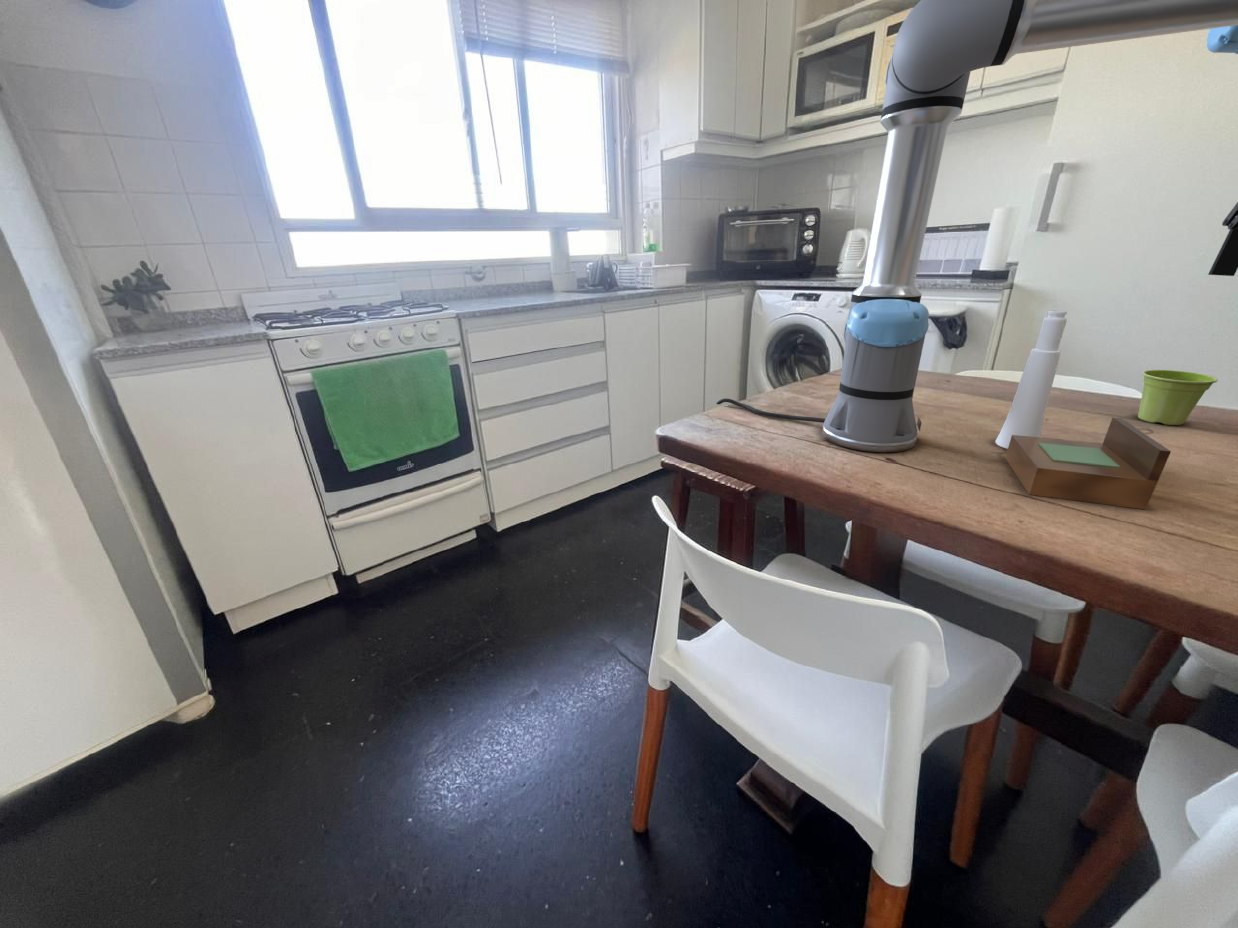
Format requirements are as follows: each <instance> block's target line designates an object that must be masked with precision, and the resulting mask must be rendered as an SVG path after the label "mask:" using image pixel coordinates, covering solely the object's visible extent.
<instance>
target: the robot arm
mask: <svg viewBox="0 0 1238 928" xmlns="http://www.w3.org/2000/svg"><path fill="white" fill-rule="evenodd" d="M1204 30H1209V31H1208V33H1207V36H1206V37H1207V38H1206V47H1207V50H1208V51H1209V52H1211V53H1214V54H1219V53H1220V54H1221V53H1222V54H1235V55H1238V0H920V1H919V2H918V3H917V4H916V5H914V6H913V8H912V9H911V10H910V11H909V13H908V14H907V16H906V17H905V18H904V20H903V21H902V23H901V26H900V27H899V30H898V32H897V34H896V36H895V40H894V45H893V49H892V54H891V57H890V59H889V62H888V65H887V69H886V74H885V91H884V97H883V104H882V110H881V114H880V115H881V116H880V124H881V126H882V127H883V128H884V129H885V131H887V138H886V145H885V150H884V156H883V162H882V168H881V173H880V180H879V185H878V191H877V197H876V202H875V208H874V215H873V220H872V221H873V222H872V226H871V232H870V237H869V243H868V249H867V254H866V261H865V266H864V272H863V278H862V282H861V284H860V285H859V286H858V287H857V288H855V289H854V290H853V291H852V292H851V298H850V304H849V308H848V309H849V310H848V315H847V316H848V317H847V321H846V324H845V326H844V330H843V331H844V332H843V341H844V353H843V359H842V366H841V373H840V380H839V387H838V393H837V396H836V397H835V399H834V402H833V403H832V406H831V407H830V409H829V411H828V413H827V415H826V417H824V418H823V417H813V416H804V415H803V416H801V415H791V414H784V413H777V412H776V413H775V412H769V411H765V410H760V409H757V408H755V407H752V406H751V405H748V404H745V403H743V402H742V403H741V402H739V401H738V400H734V399H731V398H721V399H719V400H717V402H716V404H715V405H721V404H723V403H728V404H732V405H734V406H736V407H739V408H743V409H745V410H747V411H750V412H752V413H755V414H757V415H760V416H764V417H765V416H766V417H770V418H776V419H784V420H793V421H801V422H802V421H804V422H805V421H806V422H814V423H823V424H822V430H821V431H822V432H821V434H822V437H823V438H824V439H826V440H827V441H829V442H830V443H832V444H835V445H837V446H839V447H844V448H847V449H852V450H856V451H861V452H862V451H863V452H870V453H895V452H896V453H897V452H903V451H906V450H910V449H912V448H913V447H915V445H916V442H917V438H918V431H919V432H920V431H921V427H922V420H921V419H920V417H919V416H918V417H917V421H916V416H915V410H914V403H913V397H914V392H915V388H916V382H917V379H918V372H919V369H920V364H921V363H920V362H921V358H922V353H923V348H924V343H925V340H926V339H925V338H926V334H927V333H928V331H929V327H930V324H929V317H930V313H929V312H930V311H929V309H928V308H927V307H926V305H925V304H922V303H921V299H922V295H923V293H922V292H921V290H920V288H918V287H917V285H916V283H915V282H916V278H917V275H918V269H919V264H920V259H921V254H922V249H923V245H924V240H925V235H926V231H927V226H928V221H929V216H930V211H931V209H932V208H931V207H932V202H933V197H934V193H935V188H936V184H937V179H938V173H939V169H940V165H941V161H942V155H943V149H944V146H945V141H946V136H947V131H948V128H949V126H950V125H951V124H952V123H954V121H956V119H957V118H958V117H960V115H961V114H962V112H963V107H964V103H965V98H966V95H967V94H966V93H967V90H968V85H969V80H970V76H971V73H972V72H973V71H976V70H981V69H984V68H988V67H996V66H997V67H998V66H1004V65H1005V64H1006V63H1007V62H1009V61H1010V59H1011V58H1013V57H1014V56H1016V55H1017V54H1018V55H1019V54H1027V53H1034V52H1042V51H1049V50H1057V49H1065V48H1072V47H1073V48H1074V47H1080V46H1088V45H1095V44H1104V43H1111V42H1118V41H1127V40H1134V39H1141V38H1143V39H1144V38H1149V37H1158V36H1165V35H1173V34H1179V33H1180V34H1181V33H1189V32H1196V31H1204ZM1221 225H1222V226H1223V227H1227V230H1229V231H1228V233H1227V235H1226V237H1225V239H1224V241H1223V243H1222V245H1221V247H1220V249H1219V251H1218V253H1217V255H1216V257H1215V260H1214V262H1213V264H1212V265H1211V268H1210V270H1209V271H1208V273H1207V275H1208V276H1223V277H1224V276H1227V277H1234V276H1235V275H1236V273H1237V270H1238V201H1237V202H1236V204H1235V205H1234V206H1233V207H1232V208H1231V210H1230V211H1229V212H1228V214H1227V216H1226V217H1225V218H1224V220H1223V221H1222V223H1221Z"/></svg>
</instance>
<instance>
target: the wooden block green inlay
mask: <svg viewBox="0 0 1238 928" xmlns="http://www.w3.org/2000/svg"><path fill="white" fill-rule="evenodd" d="M1006 450H1007V451H1006V454H1005V457H1004V459H1005V460H1006V462H1007V464H1008V465H1009V466H1010V468H1011V469H1012V471H1013V472H1014V474H1015V475H1016V477H1017V479H1018V480H1019V482H1020V483H1021V484H1022V486H1023V488H1024V489H1025V491H1026V492H1027V494H1028V495H1029V496H1030V495H1031V496H1036V497H1037V496H1039V497H1044V498H1045V497H1046V498H1054V499H1059V500H1068V501H1076V502H1085V503H1091V504H1101V505H1107V506H1115V507H1122V508H1129V509H1130V508H1131V509H1139V510H1147V508H1148V505H1149V503H1150V501H1151V498H1152V496H1153V493H1154V492H1155V489H1156V487H1157V484H1158V483H1159V480H1160V478H1161V475H1162V473H1163V471H1164V469H1165V466H1166V464H1167V463H1168V462H1167V461H1168V459H1169V458H1170V455H1171V452H1172V450H1170V449H1168V448H1167V447H1165V446H1164V445H1162V444H1161V443H1159V442H1158V441H1156V440H1155V439H1154V438H1152V437H1150V436H1149V435H1147V434H1146V433H1144V432H1143V431H1141V430H1140V429H1139V428H1137V427H1136V426H1134V425H1132V424H1131V423H1129V422H1128V421H1126V420H1125V419H1124V418H1122V417H1114V416H1113V417H1112V418H1111V420H1110V423H1109V426H1108V428H1107V431H1106V434H1105V436H1104V439H1103V442H1095V441H1094V442H1093V441H1083V440H1071V439H1061V438H1059V439H1058V438H1051V437H1041V438H1040V437H1029V436H1018V435H1012V437H1011V440H1010V443H1009V447H1008V449H1006Z"/></svg>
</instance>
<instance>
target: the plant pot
mask: <svg viewBox="0 0 1238 928" xmlns="http://www.w3.org/2000/svg"><path fill="white" fill-rule="evenodd" d="M1141 374H1142V375H1143V389H1142V394H1141V398H1140V403H1139V408H1138V413H1137V417H1138V419H1139V420H1141V421H1145V422H1147V423H1152V424H1153V423H1161V424H1163V425H1165V426H1181V425H1184V423H1186V421H1187V419H1188V417H1189V416H1190V415H1191V413H1192V412H1193V410H1194V409H1195V407H1196V406H1197V404H1198V403H1199V401H1200V400H1201V399H1202V397H1203V396H1204V394H1205V393H1206V391H1208V390H1209V389H1210V388H1211V386H1212V385H1213V384H1215V383H1217V382H1218V381H1219V378H1217V377H1215V376H1213V375H1209V374H1205V373H1200V372H1193V371H1185V370H1173V369H1171V370H1170V369H1148V370H1143V371H1142V373H1141Z"/></svg>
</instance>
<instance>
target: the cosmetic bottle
mask: <svg viewBox="0 0 1238 928" xmlns="http://www.w3.org/2000/svg"><path fill="white" fill-rule="evenodd" d="M1067 314H1068V311H1066V310H1048V311H1047V316H1045V317H1044V318H1043V320H1042V323H1041V327H1040V329H1039V333H1038V337H1037V340H1036V344H1035V347H1033V348H1031V350H1030V352H1029V355H1028V357H1027V360H1026V363H1025V366H1024V369H1023V371H1022V374H1021V377H1020V380H1019V383H1018V386H1017V389H1016V391H1015V395H1014V397H1013V401H1012V403H1011V406H1010V408H1009V411H1008V413H1007V416H1006V418H1005V421H1004V423H1003V425H1002V427H1001V430H1000V431H999V433H998V436H997V437H996V439H995V441H994V442H995V444H996V445H997V446H998V447H1001V448H1004V449H1005V450H1008V447H1009V443H1010V440H1011V437H1012V435H1018V436H1029V437H1040V438H1042V433H1043V427H1044V421H1045V417H1046V412H1047V407H1048V404H1049V400H1050V397H1051V396H1050V395H1051V392H1052V388H1053V386H1054V385H1053V384H1054V380H1055V377H1056V373H1057V369H1058V364H1059V360H1060V356H1061V350H1059V348H1060V344H1061V340H1062V337H1063V334H1064V332H1065V328H1066V324H1067V321H1068V319H1067V317H1066V315H1067Z"/></svg>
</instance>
